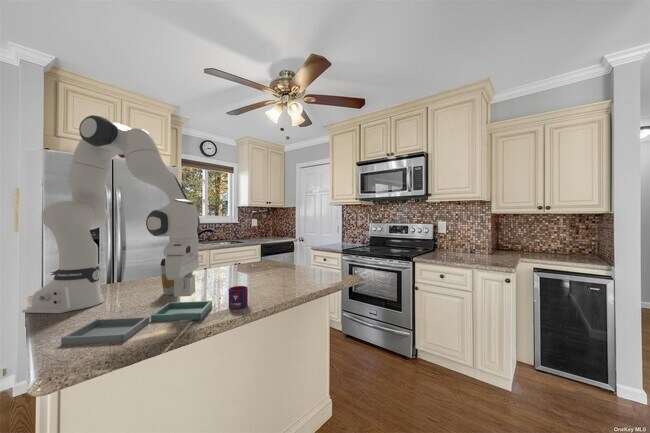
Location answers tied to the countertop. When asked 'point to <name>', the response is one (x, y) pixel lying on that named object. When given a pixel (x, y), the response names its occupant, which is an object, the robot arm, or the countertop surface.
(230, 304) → the cup
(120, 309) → the countertop surface
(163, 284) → the coffee cup
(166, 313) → the bin
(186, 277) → the stone block
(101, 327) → the bin
